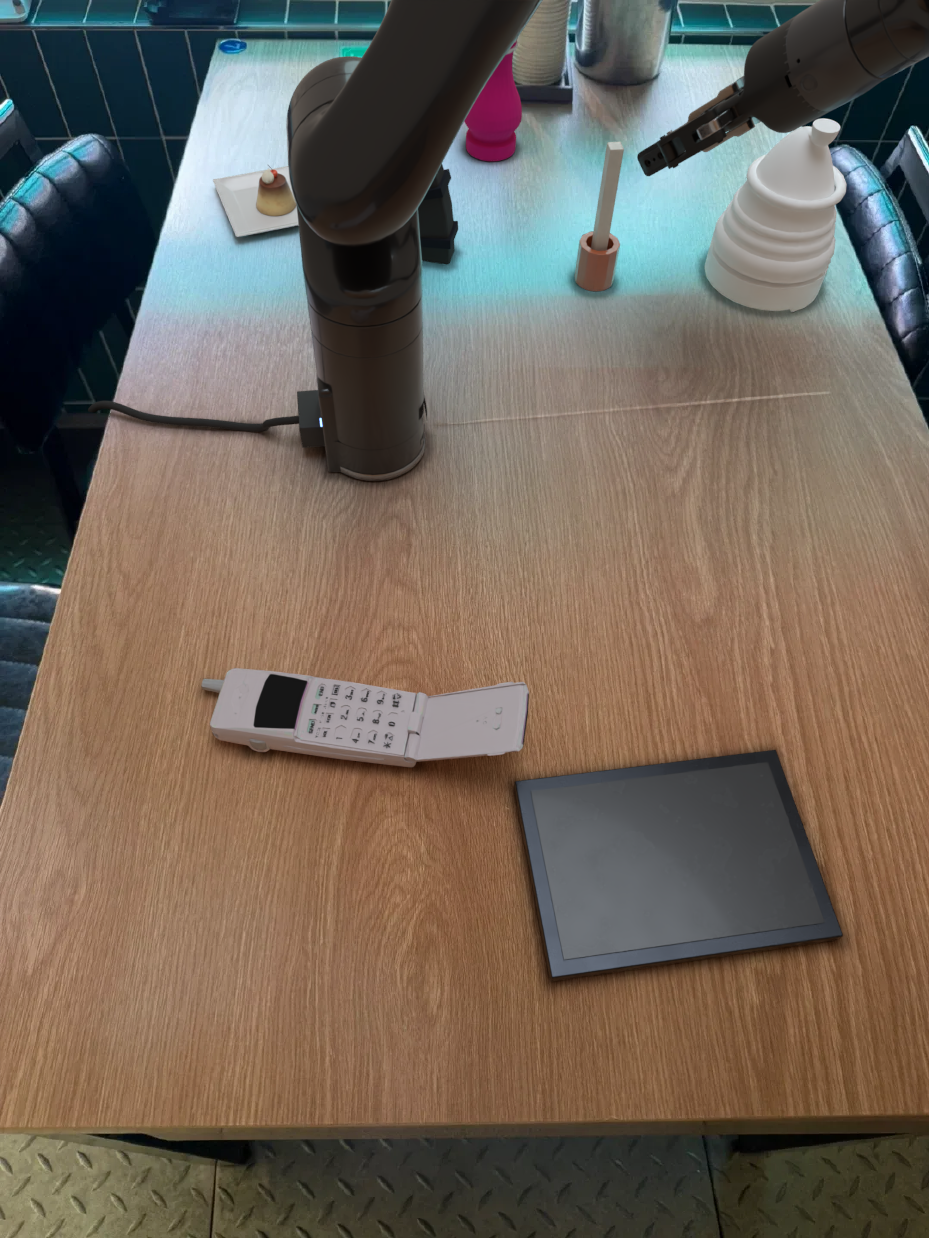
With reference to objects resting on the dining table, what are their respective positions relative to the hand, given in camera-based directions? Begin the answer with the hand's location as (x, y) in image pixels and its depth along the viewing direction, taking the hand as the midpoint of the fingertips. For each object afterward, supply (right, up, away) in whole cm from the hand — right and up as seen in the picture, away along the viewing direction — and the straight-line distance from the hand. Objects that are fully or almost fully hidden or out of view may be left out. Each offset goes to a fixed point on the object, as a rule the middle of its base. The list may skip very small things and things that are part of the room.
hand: (670, 147), depth 87 cm
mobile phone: (-27, -52, -15) cm, 61 cm away
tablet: (-4, -61, -20) cm, 64 cm away
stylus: (-5, -6, +16) cm, 18 cm away
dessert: (-41, +5, +23) cm, 47 cm away
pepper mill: (-16, +15, +32) cm, 39 cm away
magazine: (-27, -2, +19) cm, 33 cm away
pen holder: (-5, -7, +17) cm, 19 cm away
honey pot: (+14, -6, +18) cm, 24 cm away
